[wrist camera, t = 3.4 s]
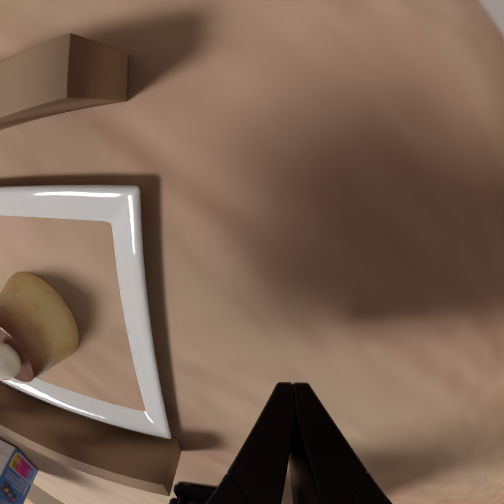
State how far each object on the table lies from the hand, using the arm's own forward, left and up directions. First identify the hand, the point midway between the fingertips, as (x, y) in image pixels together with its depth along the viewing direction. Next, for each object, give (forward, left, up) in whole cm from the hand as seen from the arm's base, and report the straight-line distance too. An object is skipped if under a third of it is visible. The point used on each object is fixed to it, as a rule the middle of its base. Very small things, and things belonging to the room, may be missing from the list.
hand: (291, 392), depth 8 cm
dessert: (+11, +1, -3) cm, 11 cm away
